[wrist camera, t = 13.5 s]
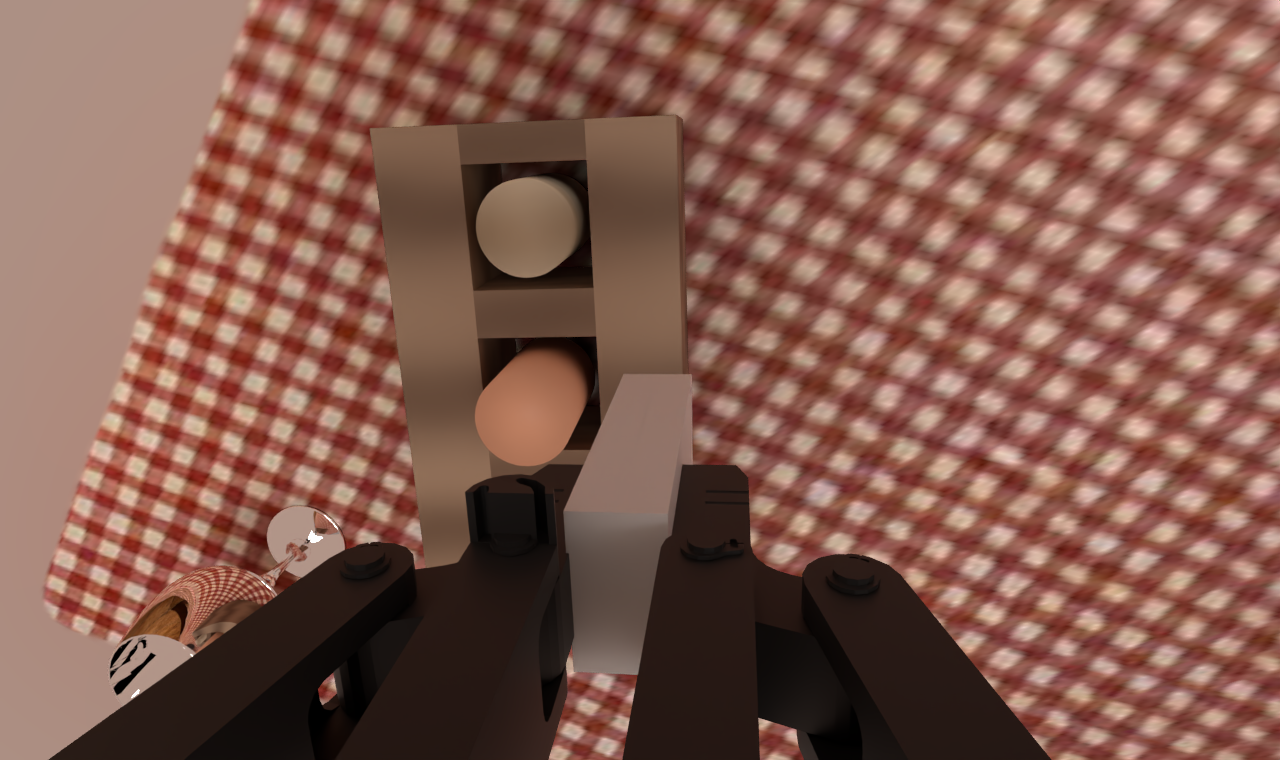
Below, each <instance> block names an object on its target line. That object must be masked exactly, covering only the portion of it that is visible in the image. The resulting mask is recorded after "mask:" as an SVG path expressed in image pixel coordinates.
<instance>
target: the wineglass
mask: <svg viewBox="0 0 1280 760" xmlns="http://www.w3.org/2000/svg"><path fill="white" fill-rule="evenodd" d="M267 544H268V548H269V550H270V553H271V555H272V556H273V558H274V559H275V561H276V562H277V563H278V565H277V566H276V567H274V568H273V569H272V570H270V571H269V572H267V573H265V574H263V575H259V576H258V575H256V574H255V573H253V572H251V571H248V570H245V569H242V568H239V567H234V566H211V567H206V568H202V569H199V570H196V571H193V572H191V573H189V574H187V575H185V576H183V577H181V578H179V579H178V580H176V581H175V582H173V583H172V584H170V585H169V586H168V587H167V588H165V589H164V590H163V591H162V592H161V593H159V594H158V595H157V596H156V597H155V598H154V599H153V600H152V601H151V602H150V604H149V605H148V606H147V607H146V608H145V609H144V610H143V611H142V612H141V614H140V615H139V616H138V617H137V618H136V620H135V621H134V622H133V623H132V625H131V626H130V628H129V629H128V630H127V632H126V633H125V635H124V636H123V638H122V639H121V640H120V642H119V643H118V645H117V647H116V648H115V650H114V652H113V653H112V655H111V657H110V660H109V665H108V678H109V683H110V686H111V689H112V691H113V693H114V695H115V697H116V698H117V699H118V701H119V703H120V704H121V705H122V706H124V705H125V704H127V703H128V702H130V701H131V700H132V699H134V698H135V697H136V696H138V695H139V694H141V693H142V692H143V691H145V690H146V689H148V688H149V687H150V686H152V685H153V684H155V683H156V682H157V681H159V680H160V679H162V678H163V677H164V676H166V675H167V674H169V673H170V672H171V671H173V670H174V669H175V668H177V667H178V666H180V665H181V664H182V663H184V662H185V661H187V660H188V659H189V658H191V657H192V656H194V655H195V654H196V653H198V652H199V651H201V650H202V649H203V648H205V647H206V646H208V645H209V644H210V643H212V642H213V641H214V640H216V639H217V638H219V637H220V636H221V635H223V634H224V633H226V632H227V631H228V630H230V629H231V628H233V627H234V626H235V625H237V624H238V623H240V622H241V621H242V620H244V619H245V618H246V617H248V616H249V615H251V614H252V613H253V612H255V611H256V610H258V609H259V608H260V607H262V606H263V605H265V604H266V603H267V602H269V601H270V600H272V599H273V598H274V597H276V596H277V593H276V592H275V590H274V589H273V587H274V585H275V582H276V580H277V579H278V577H279V576H280V574H281V573H282V572H283V571H284V570H286V571H287V572H289V573H291V574H293V575H295V576H297V577H300V578H302V577H304V576H305V575H306V574H308V573H309V572H311V571H312V570H313V569H315V568H316V567H318V566H319V565H320V564H322V563H323V562H324V561H326V560H327V559H329V558H330V557H332V556H334V555H336V554H338V553H340V552H341V551H343V550H345V549H346V548H345V540H344V537H343V534H342V532H341V530H340V528H339V527H338V525H337V524H336V523H335V522H334V521H333V519H331V518H330V517H329V516H328V515H326V514H325V513H323V512H322V511H320V510H318V509H315V508H312V507H308V506H291V507H288V508H285V509H283V510H281V511H280V512H278V513H277V514H276V515H275V516H274V517H273V519H272V520H271V522H270V524H269V526H268V530H267Z"/></svg>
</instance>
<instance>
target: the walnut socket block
mask: <svg viewBox="0 0 1280 760" xmlns="http://www.w3.org/2000/svg"><path fill="white" fill-rule="evenodd" d="M370 135H371V143H372V151H373V159H374V166H375V174H376V182H377V190H378V198H379V205H380V213H381V221H382V229H383V237H384V245H385V252H386V260H387V268H388V276H389V284H390V291H391V299H392V307H393V315H394V323H395V331H396V338H397V346H398V354H399V362H400V370H401V378H402V385H403V393H404V401H405V409H406V417H407V424H408V432H409V440H410V448H411V456H412V464H413V471H414V479H415V487H416V495H417V503H418V510H419V518H420V526H421V534H422V542H423V550H424V557H425V565H426V568H429V567H436V566H443V565H448V564H453V563H457V562H458V561H459V560H460V558H461V556H462V555H463V553H464V552H465V550H466V548H467V547H468V545H469V544H470V535H469V526H468V516H467V507H466V497H465V492H466V491H467V490H468V489H469V488H470V487H472V486H473V485H474V484H476V483H479V482H481V481H483V480H486V479H489V478H493V477H498V476H502V475H514V474H524V475H533V474H534V473H536V472H537V471H539V470H540V469H542V468H543V467H545V466H546V465H548V464H574V465H584V463H585V461H586V459H587V456H588V454H589V452H590V450H591V447H592V445H593V443H594V440H595V438H596V436H597V434H598V431H599V429H600V427H601V425H602V422H603V420H604V418H605V415H606V413H607V411H608V409H609V406H610V404H611V402H612V399H613V397H614V395H615V393H616V390H617V388H618V386H619V384H620V381H621V379H622V377H623V374H688V333H687V289H686V245H685V201H684V157H683V119H682V118H680V117H679V116H677V115H663V116H640V117H618V118H595V119H572V120H549V121H527V122H504V123H481V124H458V125H436V126H413V127H390V128H370ZM568 160H587V177H588V195H589V213H590V231H591V249H592V267H555V268H554V269H552V270H551V271H549V272H548V273H546V274H543V275H541V276H537V277H531V278H521V277H516V276H512V275H509V274H507V273H505V272H503V271H501V270H500V269H498V268H497V267H496V266H494V265H493V264H492V263H491V262H490V261H489V260H488V258H487V257H486V256H485V254H484V253H483V251H482V249H481V247H480V244H479V241H478V238H477V233H476V219H477V214H478V210H479V208H480V205H481V203H482V201H483V200H484V198H485V197H486V196H487V194H488V193H489V192H490V191H491V190H493V189H494V188H495V187H496V186H498V185H500V184H502V178H501V166H500V163H516V162H542V161H568ZM588 336H596V339H597V357H598V375H599V393H600V406H585V408H584V411H583V413H582V415H581V417H580V419H579V421H578V423H577V425H576V427H575V429H574V431H573V433H572V435H571V437H570V439H569V441H568V443H567V444H566V446H565V448H564V449H563V450H562V451H561V453H560V454H558V455H557V456H556V457H555V458H553V459H552V460H550V461H548V462H546V463H543V464H540V465H536V466H519V465H514V464H511V463H508V462H506V461H503V460H502V459H500V458H498V457H497V456H495V455H494V454H493V453H492V452H491V451H490V450H489V449H488V448H487V447H486V446H485V444H484V443H483V441H482V440H481V438H480V436H479V434H478V431H477V428H476V423H475V409H476V405H477V401H478V399H479V397H480V395H481V393H482V392H483V390H484V389H485V388H486V387H487V386H488V385H489V384H490V382H491V381H492V380H493V379H494V378H495V377H496V376H497V375H498V374H499V373H500V372H501V371H502V370H503V369H504V368H505V367H506V365H507V364H508V363H509V362H510V361H511V360H512V359H513V358H514V357H515V356H516V355H517V354H516V342H515V338H528V337H588Z"/></svg>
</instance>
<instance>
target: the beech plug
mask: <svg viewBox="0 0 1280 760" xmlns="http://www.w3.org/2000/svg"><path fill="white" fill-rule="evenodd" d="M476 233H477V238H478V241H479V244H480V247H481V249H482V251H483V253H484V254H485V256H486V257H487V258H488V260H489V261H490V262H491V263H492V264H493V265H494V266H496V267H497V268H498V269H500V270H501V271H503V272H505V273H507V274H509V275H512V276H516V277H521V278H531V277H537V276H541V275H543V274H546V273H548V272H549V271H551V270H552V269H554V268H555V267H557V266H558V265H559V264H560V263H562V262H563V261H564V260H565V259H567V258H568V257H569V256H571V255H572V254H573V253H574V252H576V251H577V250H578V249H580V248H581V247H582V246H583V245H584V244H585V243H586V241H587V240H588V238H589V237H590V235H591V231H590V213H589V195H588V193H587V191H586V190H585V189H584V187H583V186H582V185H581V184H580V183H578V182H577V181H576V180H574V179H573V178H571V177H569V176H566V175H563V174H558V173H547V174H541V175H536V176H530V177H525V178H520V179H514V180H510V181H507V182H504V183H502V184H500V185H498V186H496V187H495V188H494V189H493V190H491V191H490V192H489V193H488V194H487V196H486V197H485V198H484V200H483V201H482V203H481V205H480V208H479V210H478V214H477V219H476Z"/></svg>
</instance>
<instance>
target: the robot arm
mask: <svg viewBox="0 0 1280 760" xmlns="http://www.w3.org/2000/svg"><path fill="white" fill-rule="evenodd" d="M465 497H466V507H467V516H468V526H469V535H470V544H469V545H468V547H467V548H466V550H465V552H464V553H463V555H462V556H461V558H460V560H459V561H458V562H457V563H453V564H448V565H443V566H436V567H429V568H423V569H416V570H415V566H414V558H413V554H412V553H411V552H410V551H409V550H408V549H407V548H406V547H403V546H400V545H398V544H395V543H381V542H371V543H370V544H368V543H364V544H359V545H357V546H356V547H353V548H350V549H347V550H343V551H341V552H340V553H338V554H336V555H334V556H332V557H330V558H329V559H327V560H326V561H324V562H323V563H322V564H320V565H319V566H318V567H316V568H315V569H313V570H312V571H311V572H309V573H308V574H306V575H305V576H304V577H302V578H301V579H299V580H298V581H297V582H295V583H294V584H292V585H291V586H290V587H288V588H287V589H285V590H284V591H283V592H281V593H280V594H279V595H277V596H276V597H274V598H273V599H272V600H270V601H269V602H267V603H266V604H265V605H263V606H262V607H260V608H259V609H258V610H256V611H255V612H253V613H252V614H251V615H249V616H248V617H246V618H245V619H244V620H242V621H241V622H240V623H238V624H237V625H235V626H234V627H233V628H231V629H230V630H228V631H227V632H226V633H224V634H223V635H221V636H220V637H219V638H217V639H216V640H214V641H213V642H212V643H210V644H209V645H208V646H206V647H205V648H203V649H202V650H201V651H199V652H198V653H196V654H195V655H194V656H192V657H191V658H189V659H188V660H187V661H185V662H184V663H182V664H181V665H180V666H178V667H177V668H175V669H174V670H173V671H171V672H170V673H169V674H167V675H166V676H164V677H163V678H162V679H160V680H159V681H157V682H156V683H155V684H153V685H152V686H150V687H149V688H148V689H146V690H145V691H143V692H142V693H141V694H139V695H138V696H136V697H135V698H134V699H132V700H131V701H130V702H128V703H127V704H125V705H124V706H123V707H121V708H120V709H118V710H117V711H116V712H114V713H113V714H111V715H110V716H109V717H107V718H106V719H105V720H103V721H102V722H100V723H99V724H98V725H96V726H95V727H93V728H92V729H91V730H89V731H88V732H86V733H85V734H84V735H82V736H81V737H79V738H78V739H77V740H75V741H74V742H73V743H71V744H70V745H68V746H67V747H66V748H64V749H63V750H61V751H60V752H59V753H57V754H56V755H54V756H53V757H52V758H50V759H49V760H548V759H549V755H550V752H551V749H552V745H553V742H554V738H555V735H556V731H557V728H558V724H559V721H560V717H561V714H562V710H563V707H564V704H565V700H566V697H567V672H566V662H567V658H568V655H569V652H570V649H571V645H572V651H573V667H574V672H590V673H611V674H631V675H638V676H637V682H636V687H635V693H634V699H633V704H632V710H631V715H630V721H629V726H628V732H627V737H626V743H625V749H624V754H623V760H760V753H759V724H758V718H761V719H765V720H768V721H771V722H774V723H778V724H781V725H784V726H787V727H791V728H794V729H797V739H798V745H799V748H800V751H801V753H802V755H803V758H804V760H1051V759H1050V757H1049V756H1048V755H1047V754H1046V753H1045V751H1044V750H1043V749H1042V748H1041V746H1040V745H1039V744H1038V743H1037V742H1036V740H1035V739H1034V738H1033V737H1032V735H1031V734H1030V733H1029V732H1028V730H1027V729H1026V728H1025V727H1024V726H1023V724H1022V723H1021V722H1020V721H1019V719H1018V718H1017V717H1016V716H1015V715H1014V713H1013V712H1012V711H1011V710H1010V708H1009V707H1008V706H1007V705H1006V704H1005V702H1004V701H1003V700H1002V699H1001V697H1000V696H999V695H998V694H997V692H996V691H995V690H994V689H993V688H992V686H991V685H990V684H989V683H988V681H987V680H986V679H985V678H984V677H983V675H982V674H981V673H980V672H979V670H978V669H977V668H976V667H975V666H974V664H973V663H972V662H971V661H970V659H969V658H968V657H967V656H966V655H965V653H964V652H963V651H962V650H961V648H960V647H959V646H958V645H957V643H956V642H955V641H954V640H953V639H952V637H951V636H950V635H949V634H948V632H947V631H946V630H945V629H944V628H943V626H942V625H941V624H940V623H939V621H938V620H937V619H936V618H935V617H934V615H933V614H932V613H931V612H930V610H929V609H928V608H927V607H926V606H925V604H924V603H923V602H922V601H921V599H920V598H919V597H918V596H917V594H916V593H915V592H914V591H913V590H912V588H911V587H910V586H909V585H908V583H907V582H906V581H905V580H904V579H903V577H902V576H901V575H900V574H899V573H898V572H896V571H895V570H894V569H893V568H892V567H890V566H889V565H887V564H885V563H882V562H880V561H878V560H875V559H873V558H870V557H867V556H863V555H862V556H859V555H857V554H846V555H845V554H835V555H830V556H826V557H821V558H818V559H816V560H815V561H813V562H811V563H809V564H808V565H807V567H806V568H805V570H804V572H803V574H802V577H799V576H794V575H790V574H787V573H783V572H780V571H777V570H775V569H773V568H771V567H768V566H766V565H765V564H764V563H762V562H761V561H760V560H758V559H757V557H756V556H755V555H754V554H753V551H752V548H751V542H750V515H749V487H748V477H747V476H746V475H745V474H744V473H743V472H742V471H741V470H740V469H739V468H738V467H737V466H736V465H693V448H692V374H623V377H622V379H621V381H620V384H619V386H618V388H617V390H616V393H615V395H614V397H613V399H612V402H611V404H610V406H609V409H608V411H607V413H606V415H605V418H604V420H603V422H602V425H601V427H600V429H599V431H598V434H597V436H596V438H595V440H594V443H593V445H592V447H591V450H590V452H589V454H588V456H587V459H586V461H585V463H584V465H574V464H548V465H546V466H545V467H543V468H542V469H540V470H539V471H537V472H536V473H534V474H533V475H524V474H514V475H502V476H498V477H493V478H489V479H486V480H483V481H481V482H479V483H476V484H474V485H473V486H472V487H470V488H469V489H468V490H467V491H466V492H465ZM333 672H334V678H335V684H336V689H337V694H336V695H335V696H334V697H333V698H332V699H331V700H330V701H329V702H327V703H325V704H324V705H322V704H321V702H320V699H319V693H318V688H319V687H320V685H321V684H322V683H323V681H324V680H325V679H326V678H328V677H329V676H330V675H331V674H332V673H333Z"/></svg>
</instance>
